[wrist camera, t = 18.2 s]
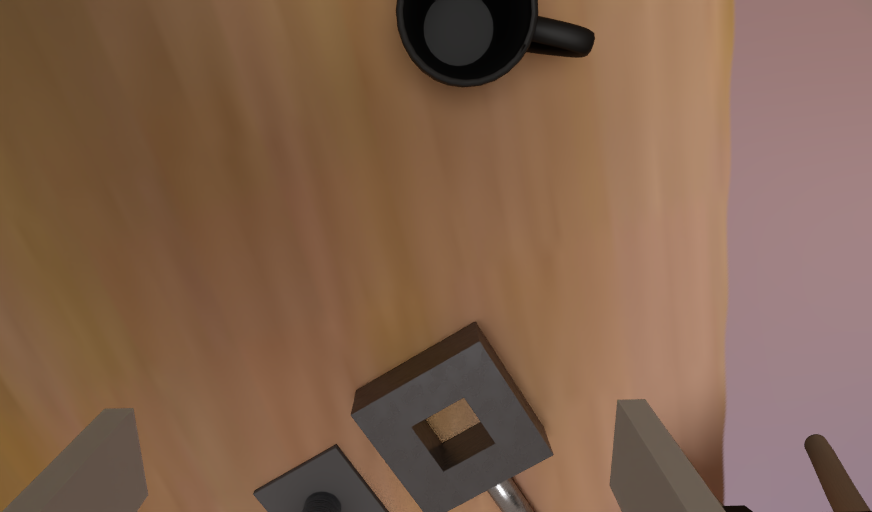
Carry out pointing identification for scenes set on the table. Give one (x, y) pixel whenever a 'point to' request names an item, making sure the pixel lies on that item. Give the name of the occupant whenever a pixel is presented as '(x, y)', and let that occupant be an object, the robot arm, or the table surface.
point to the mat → (320, 485)
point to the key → (322, 503)
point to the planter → (833, 477)
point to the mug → (482, 37)
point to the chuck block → (470, 450)
